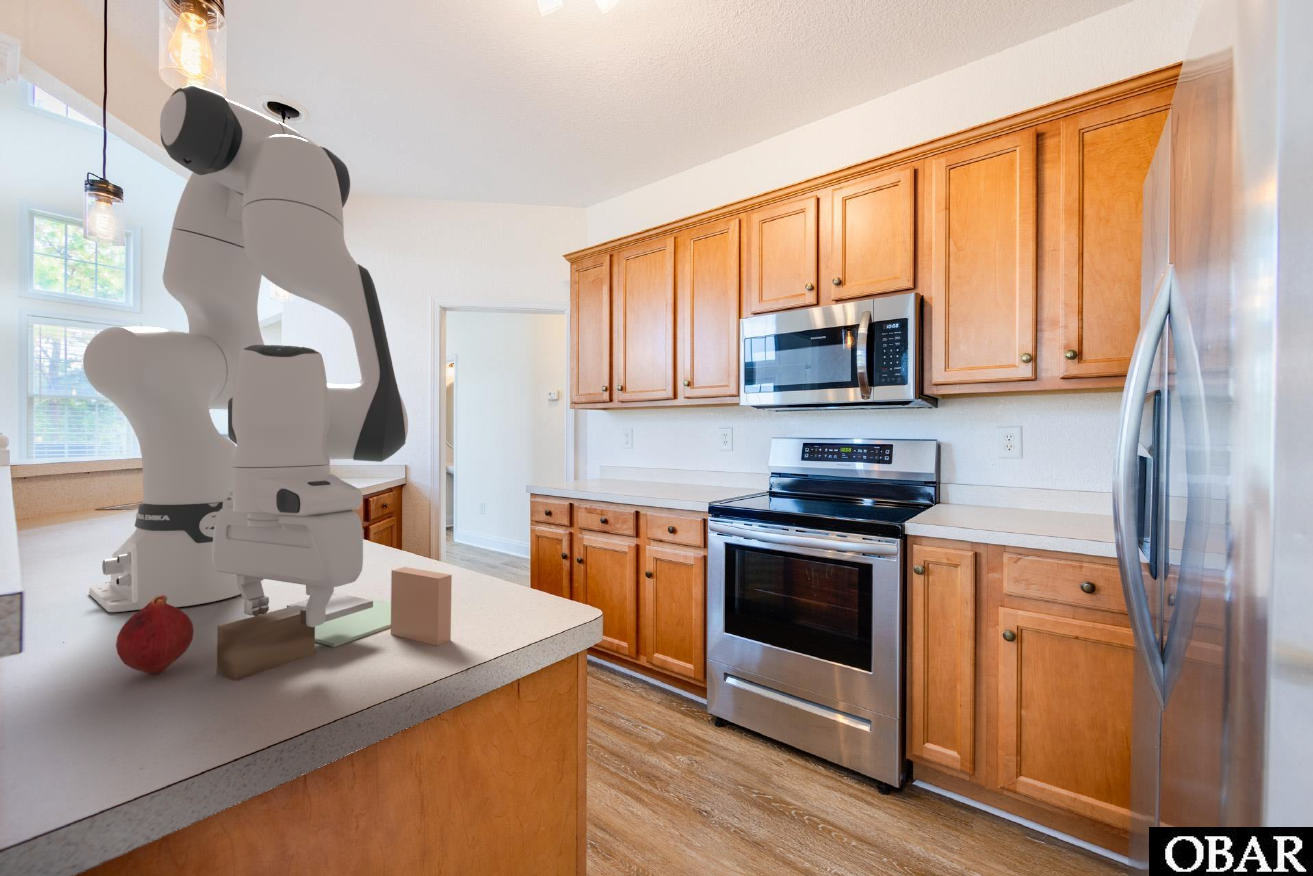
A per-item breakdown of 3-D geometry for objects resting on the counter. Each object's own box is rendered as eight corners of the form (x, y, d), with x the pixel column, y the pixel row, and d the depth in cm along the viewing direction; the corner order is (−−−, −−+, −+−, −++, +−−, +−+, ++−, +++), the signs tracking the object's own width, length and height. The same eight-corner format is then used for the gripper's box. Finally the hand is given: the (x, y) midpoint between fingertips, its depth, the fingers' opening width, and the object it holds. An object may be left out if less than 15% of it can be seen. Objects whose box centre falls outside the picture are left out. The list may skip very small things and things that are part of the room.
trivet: (271, 629, 70) (271, 626, 70) (371, 600, 82) (371, 597, 82) (334, 647, 65) (334, 643, 65) (430, 613, 77) (430, 610, 77)
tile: (390, 634, 69) (391, 570, 69) (404, 629, 71) (405, 566, 71) (437, 645, 66) (438, 578, 66) (451, 640, 68) (452, 574, 68)
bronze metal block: (207, 671, 58) (207, 623, 58) (334, 629, 71) (335, 590, 71) (246, 685, 55) (247, 634, 55) (372, 639, 68) (373, 598, 68)
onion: (146, 689, 53) (147, 606, 53) (99, 683, 55) (100, 602, 54) (206, 665, 59) (207, 590, 59) (163, 660, 60) (164, 586, 60)
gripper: (193, 491, 62) (194, 616, 62) (317, 498, 54) (318, 642, 54) (254, 487, 68) (254, 600, 68) (374, 492, 59) (375, 622, 59)
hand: (284, 619), depth 60 cm, fingers open, 8 cm apart
